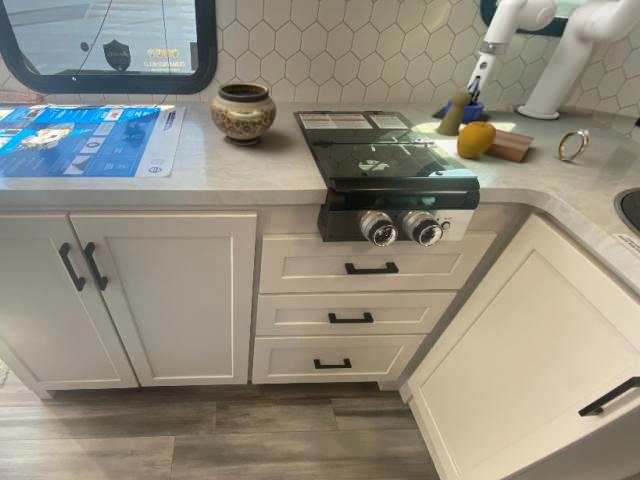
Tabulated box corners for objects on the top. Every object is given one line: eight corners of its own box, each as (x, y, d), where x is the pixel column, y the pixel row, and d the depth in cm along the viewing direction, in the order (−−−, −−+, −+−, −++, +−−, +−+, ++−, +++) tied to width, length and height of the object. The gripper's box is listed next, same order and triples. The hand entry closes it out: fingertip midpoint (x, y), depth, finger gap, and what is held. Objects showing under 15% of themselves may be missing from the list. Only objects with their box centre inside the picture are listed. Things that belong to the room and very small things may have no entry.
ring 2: (577, 165, 92) (600, 134, 87) (565, 165, 92) (587, 133, 87) (560, 155, 97) (581, 124, 92) (549, 154, 97) (569, 124, 92)
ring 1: (449, 108, 125) (454, 96, 123) (481, 115, 121) (487, 102, 118) (440, 115, 119) (445, 102, 116) (474, 123, 114) (480, 109, 112)
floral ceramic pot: (220, 133, 109) (206, 80, 99) (275, 119, 107) (267, 63, 97) (219, 166, 92) (202, 106, 82) (284, 150, 90) (275, 86, 79)
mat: (445, 107, 128) (445, 106, 127) (489, 116, 121) (489, 115, 121) (432, 116, 119) (432, 115, 119) (478, 127, 113) (479, 126, 112)
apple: (471, 165, 90) (490, 130, 84) (443, 154, 95) (458, 120, 89) (490, 159, 94) (508, 124, 87) (461, 148, 99) (477, 115, 92)
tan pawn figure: (452, 137, 105) (470, 96, 98) (433, 131, 109) (449, 91, 101) (460, 132, 108) (478, 93, 101) (442, 127, 111) (458, 88, 104)
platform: (476, 136, 107) (481, 125, 105) (527, 148, 101) (534, 137, 98) (464, 148, 99) (469, 137, 97) (519, 162, 93) (526, 151, 91)
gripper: (500, 54, 103) (470, 119, 116) (511, 47, 112) (482, 108, 125) (474, 50, 106) (447, 114, 119) (486, 44, 116) (460, 104, 129)
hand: (465, 111), depth 122 cm, fingers open, 5 cm apart
